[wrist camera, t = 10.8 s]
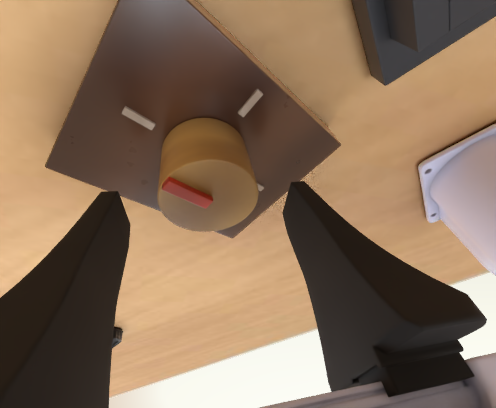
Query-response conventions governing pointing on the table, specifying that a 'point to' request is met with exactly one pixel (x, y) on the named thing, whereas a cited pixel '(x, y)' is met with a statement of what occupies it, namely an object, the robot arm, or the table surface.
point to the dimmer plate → (181, 105)
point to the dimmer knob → (206, 176)
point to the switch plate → (414, 30)
